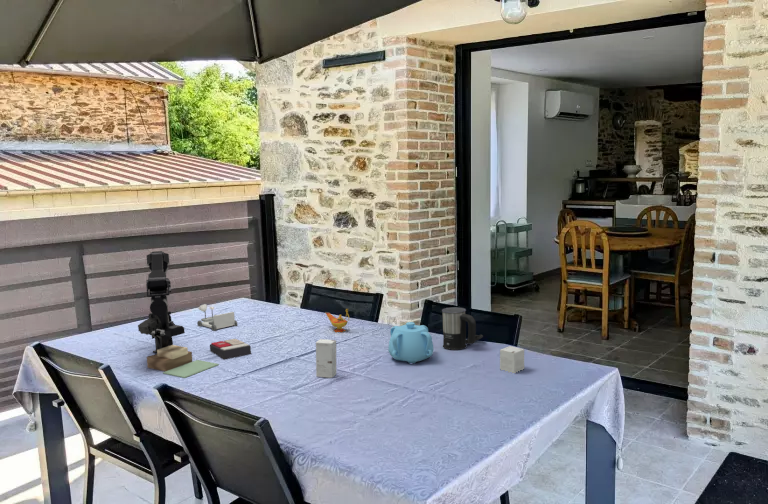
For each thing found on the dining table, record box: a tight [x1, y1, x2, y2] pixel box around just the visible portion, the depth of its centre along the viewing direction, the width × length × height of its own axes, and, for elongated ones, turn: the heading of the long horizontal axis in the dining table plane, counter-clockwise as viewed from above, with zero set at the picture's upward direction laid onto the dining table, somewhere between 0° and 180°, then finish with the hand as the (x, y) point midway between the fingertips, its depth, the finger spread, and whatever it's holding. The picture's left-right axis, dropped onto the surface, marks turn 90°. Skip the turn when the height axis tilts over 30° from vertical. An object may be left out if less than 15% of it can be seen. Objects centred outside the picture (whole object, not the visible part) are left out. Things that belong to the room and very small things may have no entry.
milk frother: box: [441, 306, 484, 351], centre depth 245 cm, size 14×16×15 cm
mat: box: [162, 359, 220, 379], centre depth 225 cm, size 11×16×1 cm
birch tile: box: [156, 344, 189, 359], centre depth 229 cm, size 8×7×2 cm
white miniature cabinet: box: [315, 338, 337, 379], centre depth 213 cm, size 6×4×12 cm
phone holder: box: [196, 303, 238, 332], centre depth 287 cm, size 18×10×12 cm
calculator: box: [209, 338, 252, 360], centre depth 244 cm, size 11×4×15 cm
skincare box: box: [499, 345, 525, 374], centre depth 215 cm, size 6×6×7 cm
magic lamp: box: [324, 308, 350, 333], centre depth 273 cm, size 7×18×11 cm, turn 40°
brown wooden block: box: [146, 350, 193, 372], centre depth 230 cm, size 10×12×4 cm
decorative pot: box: [388, 321, 434, 364], centre depth 230 cm, size 16×16×14 cm
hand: (162, 351), depth 231 cm, fingers closed
